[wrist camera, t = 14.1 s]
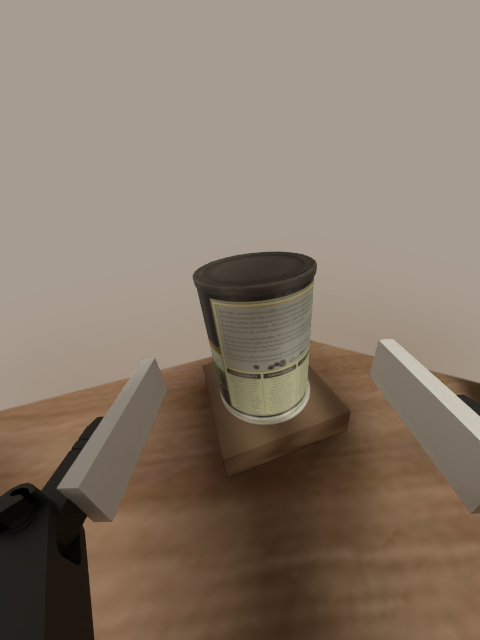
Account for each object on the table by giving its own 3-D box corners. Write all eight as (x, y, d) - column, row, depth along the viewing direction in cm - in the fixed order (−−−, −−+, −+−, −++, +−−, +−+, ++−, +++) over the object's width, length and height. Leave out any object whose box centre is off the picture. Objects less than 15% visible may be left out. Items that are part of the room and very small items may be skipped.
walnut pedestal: (286, 357, 33) (286, 340, 31) (346, 429, 22) (351, 409, 20) (206, 381, 30) (202, 364, 29) (227, 477, 19) (222, 459, 18)
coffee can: (201, 389, 25) (169, 274, 18) (256, 347, 31) (247, 249, 24) (272, 446, 18) (263, 297, 11) (324, 377, 24) (338, 254, 17)
